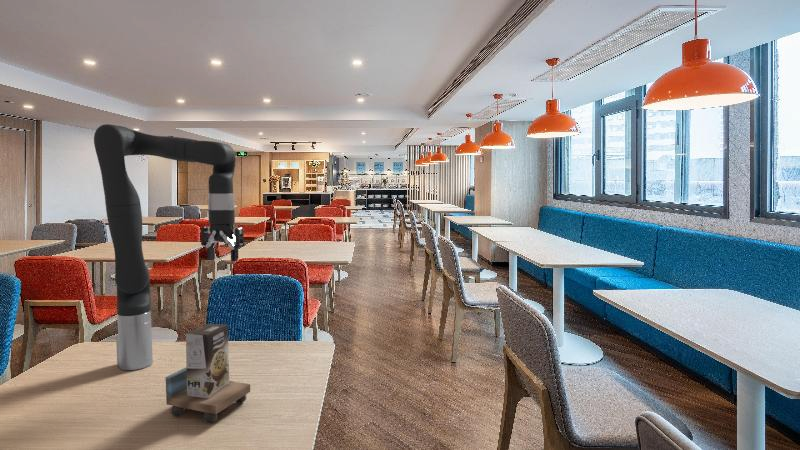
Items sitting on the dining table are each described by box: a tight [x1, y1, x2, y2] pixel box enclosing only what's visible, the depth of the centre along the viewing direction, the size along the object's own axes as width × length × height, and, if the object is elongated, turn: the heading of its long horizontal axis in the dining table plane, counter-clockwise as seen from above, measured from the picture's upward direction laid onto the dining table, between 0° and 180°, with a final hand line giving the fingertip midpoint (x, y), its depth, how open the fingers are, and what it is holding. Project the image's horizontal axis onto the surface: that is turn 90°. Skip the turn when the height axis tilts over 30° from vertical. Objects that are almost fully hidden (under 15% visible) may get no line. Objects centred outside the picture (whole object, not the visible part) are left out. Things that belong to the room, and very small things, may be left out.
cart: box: [165, 366, 251, 425], centre depth 118 cm, size 15×13×10 cm
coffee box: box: [185, 323, 230, 399], centre depth 118 cm, size 9×6×16 cm
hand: (222, 260), depth 143 cm, fingers open, 8 cm apart
